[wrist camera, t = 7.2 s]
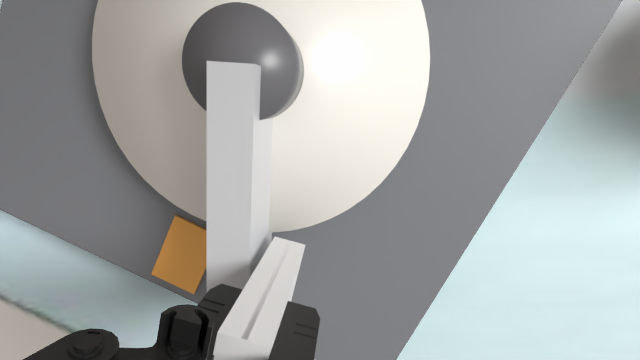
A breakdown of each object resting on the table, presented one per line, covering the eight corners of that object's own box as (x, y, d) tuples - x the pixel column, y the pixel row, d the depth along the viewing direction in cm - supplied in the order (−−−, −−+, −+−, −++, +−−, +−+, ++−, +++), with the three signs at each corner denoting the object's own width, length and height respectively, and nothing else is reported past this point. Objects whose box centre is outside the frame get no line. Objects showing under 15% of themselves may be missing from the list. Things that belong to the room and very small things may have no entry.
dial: (97, -117, 15) (0, -202, 11) (447, -105, 14) (489, -193, 10) (120, 286, 19) (55, 338, 14) (394, 314, 18) (408, 379, 14)
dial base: (122, -336, 15) (93, -391, 13) (643, -65, 15) (678, -85, 14) (-15, 182, 20) (-46, 189, 18) (375, 368, 20) (377, 391, 19)
